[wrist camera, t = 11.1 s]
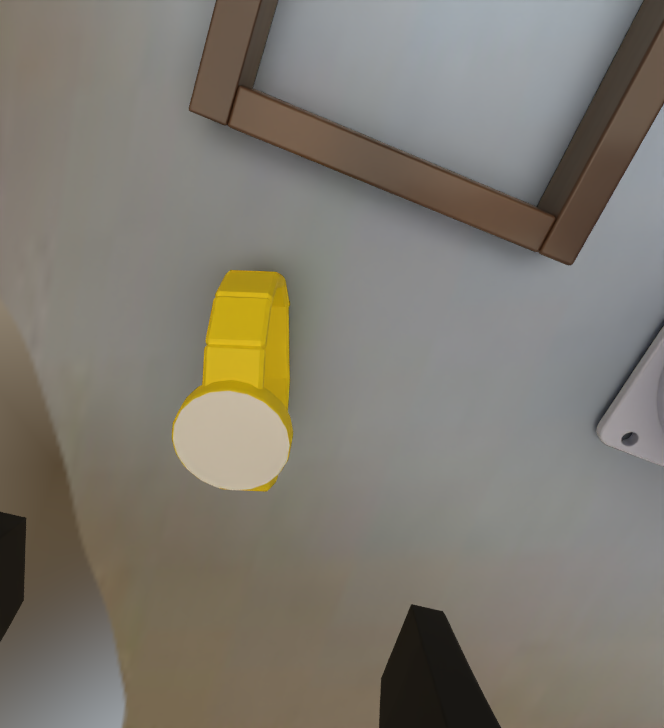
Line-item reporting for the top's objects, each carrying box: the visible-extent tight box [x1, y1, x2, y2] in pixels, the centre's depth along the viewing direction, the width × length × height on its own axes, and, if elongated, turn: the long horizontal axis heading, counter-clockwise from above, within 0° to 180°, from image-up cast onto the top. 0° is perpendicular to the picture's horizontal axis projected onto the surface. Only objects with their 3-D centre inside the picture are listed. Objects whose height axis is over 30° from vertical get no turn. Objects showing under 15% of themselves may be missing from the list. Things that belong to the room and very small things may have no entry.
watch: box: [172, 270, 293, 491], centre depth 16 cm, size 6×3×6 cm, turn 178°
